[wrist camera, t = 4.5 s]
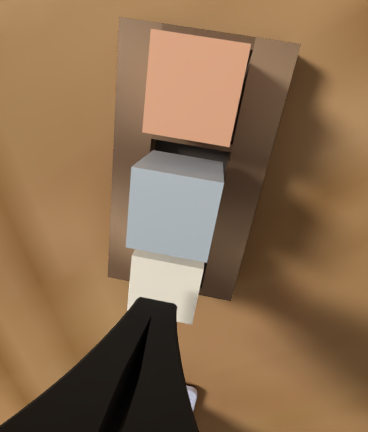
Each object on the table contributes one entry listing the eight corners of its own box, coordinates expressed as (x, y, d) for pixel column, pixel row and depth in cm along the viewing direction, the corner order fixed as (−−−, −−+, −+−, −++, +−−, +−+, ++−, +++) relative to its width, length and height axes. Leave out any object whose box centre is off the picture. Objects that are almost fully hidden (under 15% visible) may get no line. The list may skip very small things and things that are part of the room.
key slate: (209, 225, 12) (207, 262, 9) (146, 213, 12) (125, 247, 9) (222, 161, 11) (223, 182, 8) (153, 150, 11) (131, 166, 8)
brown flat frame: (229, 286, 15) (230, 301, 14) (115, 264, 16) (107, 276, 15) (292, 49, 11) (301, 44, 10) (129, 25, 11) (119, 16, 10)
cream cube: (197, 281, 14) (192, 324, 12) (144, 271, 14) (127, 311, 12) (206, 234, 13) (203, 269, 10) (149, 223, 13) (131, 255, 11)
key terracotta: (226, 135, 11) (229, 147, 9) (160, 124, 12) (142, 132, 9) (242, 58, 10) (251, 44, 8) (168, 47, 10) (150, 28, 8)
